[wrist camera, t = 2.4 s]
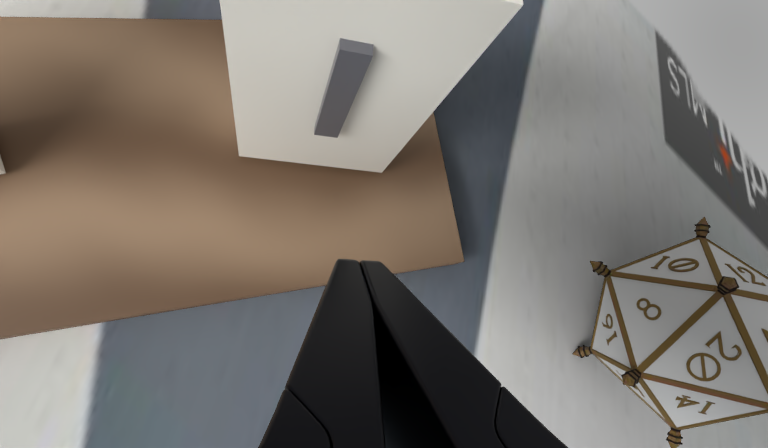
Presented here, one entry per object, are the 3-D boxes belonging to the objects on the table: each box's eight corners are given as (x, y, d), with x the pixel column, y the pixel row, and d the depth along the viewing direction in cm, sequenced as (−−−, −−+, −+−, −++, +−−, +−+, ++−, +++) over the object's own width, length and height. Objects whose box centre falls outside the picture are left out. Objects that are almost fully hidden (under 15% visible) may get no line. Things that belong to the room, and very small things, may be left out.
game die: (580, 362, 26) (719, 546, 17) (507, 269, 22) (633, 439, 13) (718, 272, 24) (953, 421, 15) (663, 158, 21) (925, 265, 12)
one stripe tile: (381, 179, 19) (523, 17, 9) (238, 163, 18) (209, -54, 7) (383, 130, 20) (519, -76, 9) (243, 110, 18) (223, -162, 8)
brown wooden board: (455, 264, 21) (464, 261, 20) (-328, 393, 13) (-373, 399, 12) (408, 34, 23) (414, 22, 22) (-299, 31, 15) (-336, 12, 14)
